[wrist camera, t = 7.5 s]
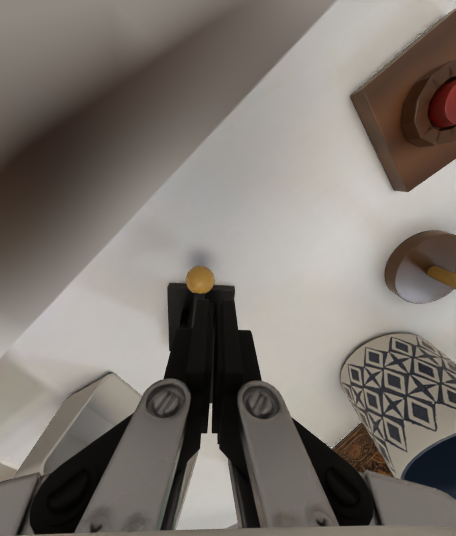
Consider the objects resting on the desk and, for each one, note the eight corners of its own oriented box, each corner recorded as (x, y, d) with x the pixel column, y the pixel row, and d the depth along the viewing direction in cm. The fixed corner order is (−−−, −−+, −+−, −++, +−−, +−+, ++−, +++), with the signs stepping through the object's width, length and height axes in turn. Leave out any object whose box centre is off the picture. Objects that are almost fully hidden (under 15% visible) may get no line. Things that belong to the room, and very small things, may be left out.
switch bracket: (169, 283, 31) (143, 343, 20) (234, 286, 31) (243, 346, 21) (170, 346, 35) (150, 423, 24) (228, 347, 36) (233, 424, 25)
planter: (320, 384, 40) (371, 489, 27) (381, 316, 35) (482, 406, 21) (386, 408, 43) (460, 512, 30) (450, 350, 38) (575, 444, 25)
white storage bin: (41, 409, 39) (-31, 507, 28) (110, 369, 36) (60, 460, 25) (139, 472, 48) (114, 567, 37) (200, 444, 45) (195, 537, 34)
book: (376, 408, 43) (558, 676, 20) (397, 416, 44) (590, 677, 21) (325, 455, 49) (422, 710, 26) (344, 461, 50) (454, 709, 27)
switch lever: (188, 266, 27) (185, 263, 24) (215, 268, 27) (215, 264, 24) (180, 381, 25) (176, 393, 22) (209, 381, 26) (208, 393, 22)
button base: (349, 96, 23) (374, 82, 20) (444, 16, 21) (491, -17, 18) (394, 190, 27) (421, 193, 24) (477, 131, 25) (521, 124, 22)
